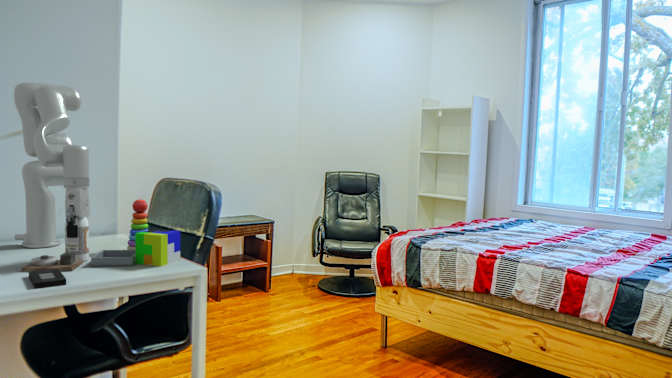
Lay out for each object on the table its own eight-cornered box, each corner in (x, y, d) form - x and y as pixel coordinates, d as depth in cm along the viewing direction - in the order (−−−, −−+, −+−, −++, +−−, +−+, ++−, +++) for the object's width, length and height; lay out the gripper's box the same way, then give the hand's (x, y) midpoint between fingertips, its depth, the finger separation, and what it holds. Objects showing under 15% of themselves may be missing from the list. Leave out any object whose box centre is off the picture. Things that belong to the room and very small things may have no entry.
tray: (91, 266, 158) (91, 257, 158) (102, 258, 170) (102, 250, 170) (132, 266, 161) (132, 257, 160) (140, 257, 173) (140, 249, 172)
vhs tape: (58, 275, 149) (58, 268, 149) (66, 286, 138) (66, 279, 138) (28, 278, 145) (28, 271, 145) (34, 290, 133) (34, 283, 133)
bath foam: (87, 262, 164) (87, 201, 163) (63, 263, 162) (63, 201, 160) (90, 257, 171) (89, 199, 169) (67, 258, 168) (66, 199, 167)
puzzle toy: (180, 260, 171) (180, 231, 170) (160, 266, 161) (160, 235, 161) (155, 257, 174) (155, 228, 173) (135, 263, 165) (135, 233, 164)
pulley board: (21, 271, 150) (21, 251, 150) (35, 264, 160) (35, 244, 159) (72, 271, 152) (71, 250, 152) (82, 263, 162) (82, 244, 162)
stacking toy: (142, 253, 180) (142, 201, 179) (122, 251, 182) (122, 200, 180) (154, 249, 188) (154, 199, 186) (135, 247, 189) (135, 198, 188)
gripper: (80, 185, 156) (81, 239, 157) (96, 181, 173) (97, 231, 174) (53, 184, 155) (55, 240, 156) (73, 181, 172) (74, 231, 173)
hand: (77, 235), depth 165 cm, fingers open, 9 cm apart
